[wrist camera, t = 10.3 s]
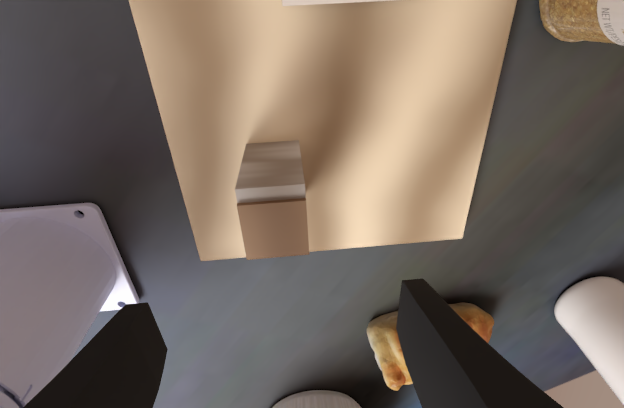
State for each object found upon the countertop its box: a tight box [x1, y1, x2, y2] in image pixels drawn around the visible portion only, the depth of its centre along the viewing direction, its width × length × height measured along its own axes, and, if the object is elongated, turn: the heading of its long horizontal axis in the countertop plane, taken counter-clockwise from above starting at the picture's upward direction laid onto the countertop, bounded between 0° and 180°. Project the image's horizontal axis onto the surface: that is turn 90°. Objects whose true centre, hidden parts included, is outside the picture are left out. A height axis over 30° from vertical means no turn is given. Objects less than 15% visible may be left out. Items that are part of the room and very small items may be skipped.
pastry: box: [367, 302, 494, 391], centre depth 25 cm, size 9×7×4 cm
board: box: [129, 0, 517, 261], centre depth 16 cm, size 16×20×1 cm
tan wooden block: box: [235, 140, 309, 260], centre depth 15 cm, size 3×3×5 cm
